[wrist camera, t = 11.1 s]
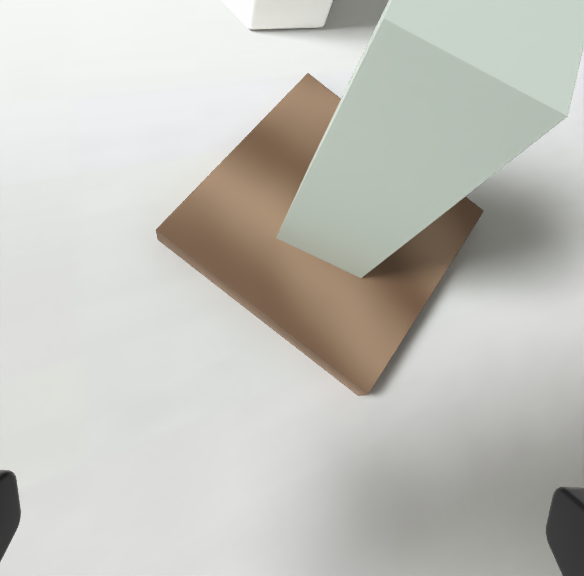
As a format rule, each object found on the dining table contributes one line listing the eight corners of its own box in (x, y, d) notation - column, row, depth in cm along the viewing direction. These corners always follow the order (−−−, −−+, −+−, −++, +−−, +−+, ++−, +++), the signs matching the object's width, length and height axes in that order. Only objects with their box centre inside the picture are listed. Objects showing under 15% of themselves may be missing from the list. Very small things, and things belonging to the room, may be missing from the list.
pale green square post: (360, 278, 21) (567, 116, 10) (275, 238, 21) (383, 18, 9) (389, 202, 23) (598, -19, 11) (310, 163, 23) (440, -108, 11)
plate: (358, 395, 21) (367, 394, 20) (157, 239, 21) (155, 229, 20) (470, 220, 25) (483, 211, 24) (302, 88, 25) (308, 73, 24)
